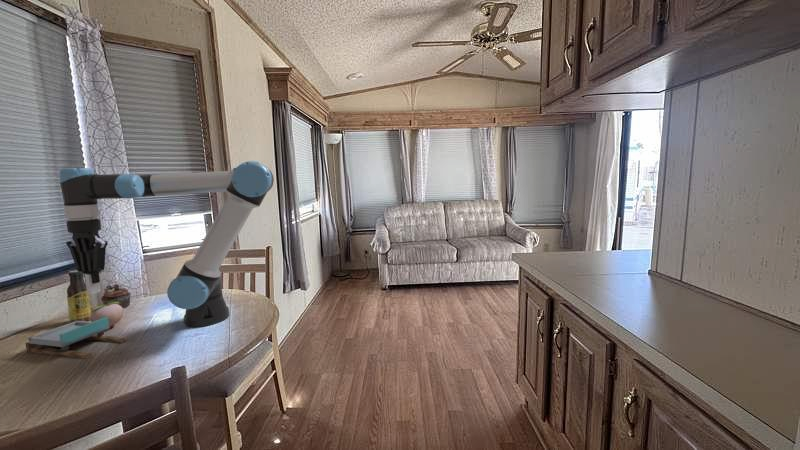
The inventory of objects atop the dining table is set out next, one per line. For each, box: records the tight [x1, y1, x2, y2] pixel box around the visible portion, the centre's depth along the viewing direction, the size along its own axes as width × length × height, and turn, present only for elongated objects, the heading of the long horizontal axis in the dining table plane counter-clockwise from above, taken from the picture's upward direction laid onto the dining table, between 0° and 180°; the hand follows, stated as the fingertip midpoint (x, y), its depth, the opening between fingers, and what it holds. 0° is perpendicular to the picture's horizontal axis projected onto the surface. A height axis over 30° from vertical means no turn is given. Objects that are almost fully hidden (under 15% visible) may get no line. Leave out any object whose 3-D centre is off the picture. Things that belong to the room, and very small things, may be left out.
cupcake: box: [100, 283, 132, 309], centre depth 140 cm, size 10×10×10 cm
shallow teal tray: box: [28, 317, 110, 351], centre depth 107 cm, size 14×13×6 cm
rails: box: [25, 334, 127, 359], centre depth 107 cm, size 24×12×3 cm, turn 78°
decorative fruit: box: [89, 302, 124, 329], centre depth 120 cm, size 9×8×10 cm
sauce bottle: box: [66, 269, 92, 323], centre depth 126 cm, size 6×6×20 cm
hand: (94, 293), depth 104 cm, fingers closed
